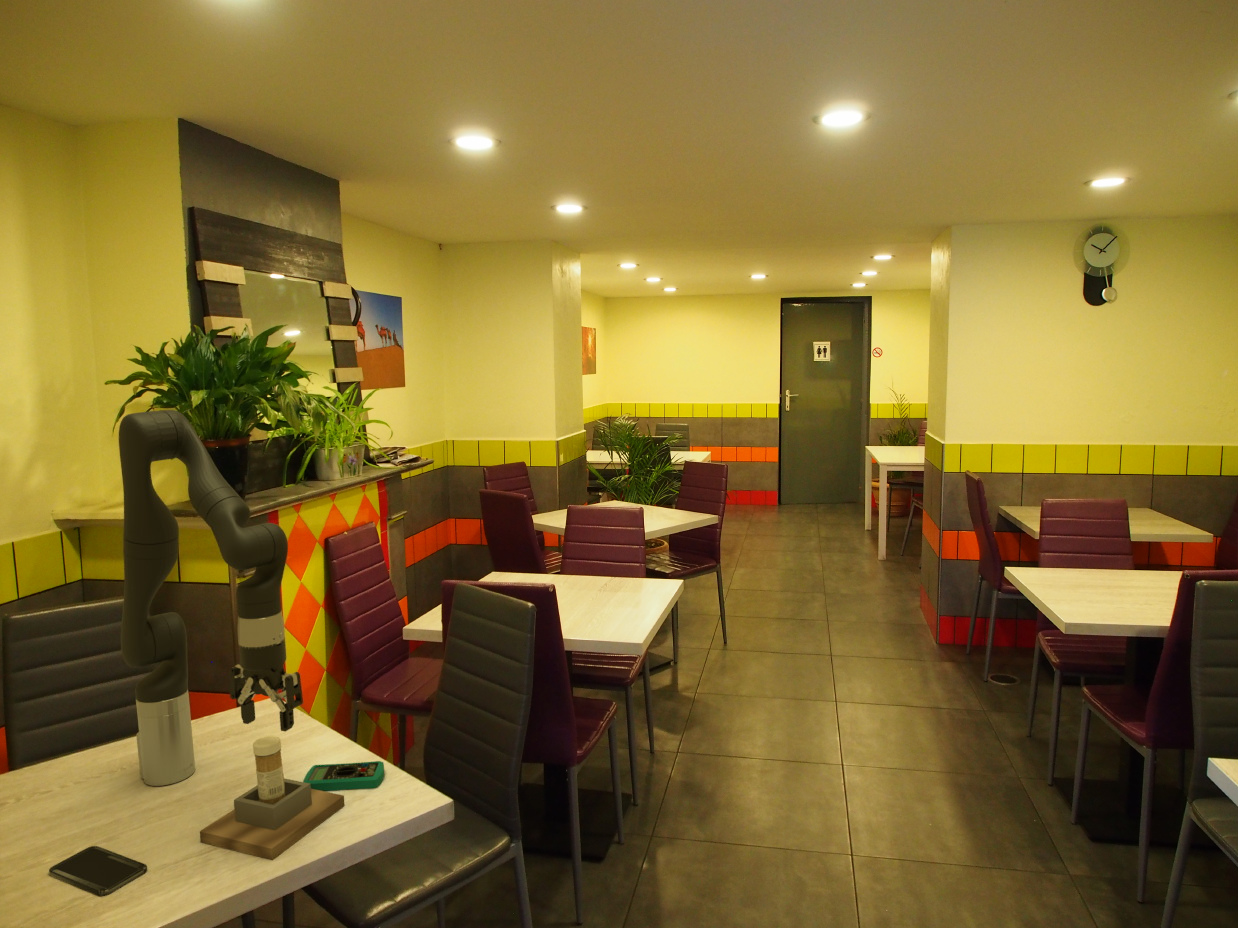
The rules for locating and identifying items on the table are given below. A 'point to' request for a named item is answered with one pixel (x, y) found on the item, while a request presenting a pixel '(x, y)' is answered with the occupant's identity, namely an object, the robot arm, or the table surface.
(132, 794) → the table surface
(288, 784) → the socket sleeve
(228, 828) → the socket board
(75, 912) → the table surface
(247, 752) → the table surface
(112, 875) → the phone
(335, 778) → the digital multimeter
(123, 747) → the table surface
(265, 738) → the sprinkles bottle
